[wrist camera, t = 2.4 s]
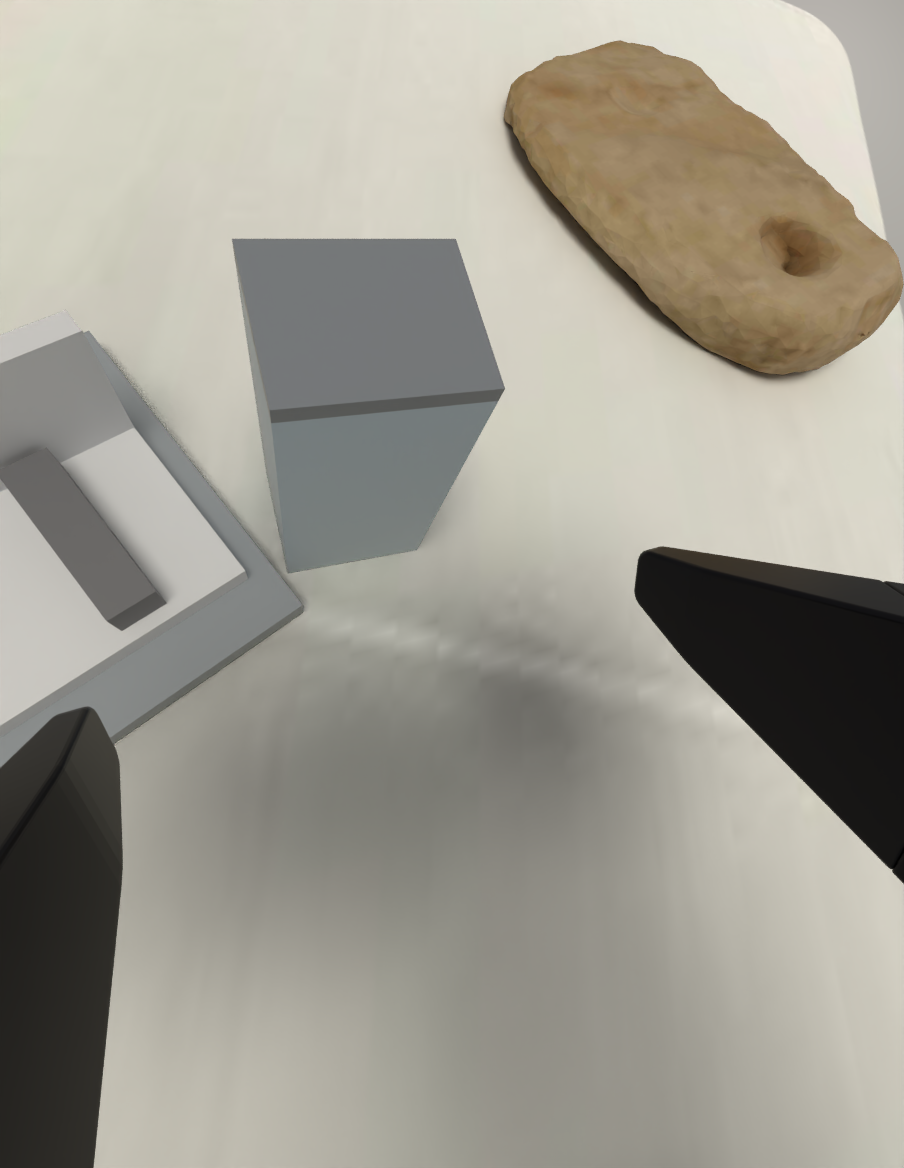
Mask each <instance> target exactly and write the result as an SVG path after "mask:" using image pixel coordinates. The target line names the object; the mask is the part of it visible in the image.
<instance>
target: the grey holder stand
mask: <svg viewBox="0 0 904 1168" xmlns="http://www.w3.org/2000/svg"><path fill="white" fill-rule="evenodd" d="M301 613H303V605H302V603H301V602H300V601H299V599H298V598H297V597H296V596H295V594H294V593H293V592H292V590H291V589H290V588H289V587H288V585H287V584H286V583H285V581H284V580H283V579H282V578H281V576H280V575H279V574H278V572H277V571H276V570H275V569H274V567H273V566H272V565H271V564H270V562H269V561H268V560H267V558H266V557H265V556H264V555H263V553H262V552H261V551H260V549H259V548H258V547H257V546H256V544H255V543H254V542H253V540H252V539H251V538H250V537H249V535H248V534H247V533H246V531H245V530H244V529H243V528H242V526H241V525H240V524H239V523H238V521H237V520H236V519H235V517H234V516H233V515H232V514H231V512H230V511H229V510H228V508H227V507H226V506H225V505H224V503H223V502H222V501H221V499H220V498H219V497H218V496H217V494H216V493H215V492H214V490H213V489H212V488H211V487H210V485H209V484H208V483H207V481H206V480H205V479H204V478H203V476H202V475H201V474H200V473H199V471H198V470H197V469H196V467H195V466H194V465H193V464H192V462H191V461H190V460H189V458H188V457H187V456H186V455H185V453H184V452H183V451H182V449H181V448H180V447H179V446H178V444H177V443H176V442H175V440H174V439H173V438H172V437H171V435H170V434H169V433H168V431H167V430H166V429H165V428H164V426H163V425H162V424H161V423H160V421H159V420H158V419H157V417H156V416H155V415H154V414H153V412H152V411H151V410H150V408H149V407H148V406H147V405H146V403H145V402H144V401H143V399H142V398H141V397H140V396H139V394H138V393H137V392H136V390H135V389H134V388H133V387H132V385H131V384H130V383H129V381H128V380H127V379H126V378H125V376H124V375H123V374H122V373H121V371H120V370H119V369H118V367H117V366H116V365H115V364H114V362H113V361H112V360H111V358H110V357H109V356H108V355H107V353H106V352H105V351H104V349H103V348H102V347H101V346H100V344H99V343H98V342H97V340H96V339H95V338H94V337H93V335H92V334H91V333H90V331H87V332H85V333H83V331H82V330H81V328H80V327H79V326H78V324H77V323H76V322H75V321H74V319H73V318H72V317H71V315H70V314H69V313H68V312H67V310H64V311H61V312H59V313H56V314H53V315H51V316H48V317H45V318H43V319H40V320H38V321H35V322H32V323H30V324H27V325H24V326H22V327H19V328H17V329H14V330H11V331H9V332H6V333H3V334H1V335H0V767H1V766H2V765H3V764H5V763H6V762H7V761H8V760H9V759H10V758H11V757H12V756H13V755H14V754H15V753H16V752H17V751H18V750H19V749H20V748H21V747H22V746H23V745H24V744H25V743H26V742H27V741H28V740H29V739H30V738H31V737H32V736H34V735H35V734H36V733H37V732H38V731H39V730H40V729H41V728H42V727H43V726H44V725H45V724H46V723H47V722H48V721H49V720H50V719H51V718H52V717H54V716H55V715H57V714H60V713H63V712H67V711H70V710H74V709H78V708H81V707H85V706H89V707H91V708H93V709H94V710H95V711H96V712H97V714H98V715H99V717H100V719H101V721H102V723H103V725H104V727H105V729H106V731H107V733H108V735H109V737H110V739H111V741H112V743H113V744H114V743H116V742H117V741H119V740H120V739H121V738H123V737H124V736H126V735H127V734H129V733H130V732H131V731H133V730H134V729H136V728H137V727H139V726H140V725H142V724H143V723H144V722H146V721H147V720H149V719H150V718H152V717H153V716H155V715H156V714H157V713H159V712H160V711H162V710H163V709H165V708H166V707H167V706H169V705H170V704H172V703H173V702H175V701H176V700H178V699H179V698H180V697H182V696H183V695H185V694H186V693H188V692H189V691H190V690H192V689H193V688H195V687H196V686H198V685H199V684H201V683H202V682H203V681H205V680H206V679H208V678H209V677H211V676H212V675H214V674H215V673H216V672H218V671H219V670H221V669H222V668H224V667H225V666H226V665H228V664H229V663H231V662H232V661H234V660H235V659H237V658H238V657H239V656H241V655H242V654H244V653H245V652H247V651H248V650H250V649H251V648H252V647H254V646H255V645H257V644H258V643H260V642H261V641H262V640H264V639H265V638H267V637H268V636H270V635H271V634H273V633H274V632H275V631H277V630H278V629H280V628H281V627H283V626H284V625H286V624H287V623H288V622H290V621H291V620H293V619H294V618H296V617H297V616H298V615H300V614H301Z"/></svg>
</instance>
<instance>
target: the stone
mask: <svg viewBox="0 0 904 1168" xmlns="http://www.w3.org/2000/svg"><path fill="white" fill-rule="evenodd" d="M504 118H505V121H506V122H507V123H508V124H510V125H511V126H512V127H513V133H514V134H515V135H516V136H517V138H518V140H519V142H520V145H521V147H522V148H523V149H524V150H525V151H526V154H527V157H528V160H529V162H530V163H531V166H532V167H533V168H534V169H535V170H536V172H537V173H538V175H539V176H540V178H541V179H542V181H543V182H544V184H545V185H546V186H547V187H548V189H549V190H550V191H551V192H552V193H553V194H554V195H555V197H556V198H557V199H558V200H559V201H560V202H561V203H562V204H563V205H564V206H565V208H566V209H567V210H568V211H569V212H570V214H571V215H572V216H573V217H574V218H575V220H576V221H577V222H578V223H579V224H580V225H581V226H582V227H583V228H584V229H585V230H586V232H587V233H588V234H589V235H590V236H591V237H592V239H593V240H594V241H595V242H596V243H597V244H598V245H599V246H600V247H601V248H602V249H603V250H604V251H605V252H606V253H607V254H608V255H609V256H610V257H611V259H612V260H613V261H614V262H615V263H616V264H617V265H618V266H620V267H621V268H622V269H623V270H624V271H625V272H626V273H627V274H628V275H629V276H630V277H631V278H632V279H633V280H634V281H636V282H637V284H638V285H639V286H640V288H641V289H642V290H643V292H644V293H645V294H646V296H647V297H648V298H649V300H650V301H652V302H653V303H654V304H656V305H657V306H658V307H659V308H660V310H661V311H662V313H664V314H665V315H666V316H667V317H669V318H670V319H671V320H672V321H674V322H675V323H676V324H677V325H678V326H679V327H680V328H681V329H682V330H683V331H684V332H685V333H686V334H687V335H689V336H690V337H691V338H692V339H694V340H695V341H696V342H697V343H699V344H700V345H701V346H703V347H704V348H706V349H708V350H709V351H711V352H714V353H716V354H719V355H721V356H723V357H725V358H728V359H730V360H732V361H734V362H736V363H739V364H741V365H744V366H746V367H749V368H751V369H753V370H756V371H759V372H764V373H769V374H781V375H784V374H788V373H792V372H804V371H808V370H815V369H819V368H820V367H822V366H823V365H826V364H828V363H830V362H831V361H833V360H835V359H836V358H838V357H839V356H841V355H843V354H844V353H845V352H847V351H849V350H851V349H852V348H854V347H855V346H857V345H859V344H860V343H861V342H862V341H864V340H865V339H867V338H868V337H870V336H871V335H872V334H873V333H874V332H875V331H876V330H877V329H878V328H879V327H880V325H881V324H882V323H883V322H884V321H885V319H886V318H887V317H888V315H889V314H890V312H891V311H892V310H893V308H894V307H895V306H896V304H897V303H898V301H899V300H900V297H901V293H902V288H903V277H902V272H901V268H900V264H899V260H898V257H897V255H896V253H895V252H894V250H893V249H892V247H891V246H890V245H889V243H888V242H887V241H885V240H883V239H881V238H880V237H879V236H877V235H876V234H875V233H874V232H873V231H871V230H870V229H869V228H868V227H867V226H866V225H864V224H863V223H862V222H861V221H860V220H858V218H857V217H856V215H855V212H854V207H853V205H852V204H851V203H850V202H849V200H848V199H846V198H845V197H844V196H842V195H841V194H840V193H838V192H837V191H836V190H835V189H834V188H833V187H832V186H831V184H830V183H829V182H828V181H827V180H826V179H825V178H824V177H823V176H821V175H819V174H818V173H817V171H816V170H815V169H813V168H812V167H810V166H809V165H807V164H806V163H805V162H804V160H803V159H802V158H801V157H800V156H799V155H798V154H797V153H796V152H795V151H794V150H793V149H792V148H791V147H790V146H789V144H788V143H787V141H786V140H784V139H783V138H782V137H781V136H780V135H779V134H778V133H777V132H776V131H775V130H774V129H773V128H772V127H771V126H770V124H769V123H768V122H767V121H765V120H763V119H761V118H759V117H758V116H756V115H755V114H753V113H751V112H748V111H746V110H745V109H743V108H742V107H741V106H739V105H737V104H735V103H734V102H732V101H731V100H730V99H729V98H728V97H727V96H726V95H725V94H723V93H722V92H721V91H720V90H719V89H718V87H717V86H716V84H715V83H714V82H713V81H712V80H711V79H710V78H709V77H708V76H707V75H706V74H705V73H704V71H703V70H702V69H701V68H700V67H699V66H697V65H696V64H694V63H693V62H691V61H689V60H686V59H683V58H679V57H676V56H670V55H666V54H663V53H662V52H660V51H659V50H657V49H656V48H654V47H651V46H645V45H640V44H635V43H627V42H623V41H614V42H610V43H607V44H604V45H601V46H598V47H595V48H593V49H589V50H586V51H583V52H580V53H576V54H573V55H567V56H556V57H555V58H553V59H552V60H550V61H545V62H543V63H542V64H541V65H539V66H538V67H536V68H535V69H534V70H532V71H529V72H526V73H524V74H523V75H521V76H520V77H518V78H517V79H516V80H515V81H514V83H513V84H512V85H511V87H510V91H509V94H508V98H507V105H506V110H505V113H504Z"/></svg>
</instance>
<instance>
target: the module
mask: <svg viewBox="0 0 904 1168" xmlns="http://www.w3.org/2000/svg"><path fill="white" fill-rule="evenodd" d="M232 242H233V249H234V256H235V263H236V269H237V276H238V283H239V290H240V297H241V303H242V310H243V317H244V324H245V331H246V337H247V344H248V351H249V358H250V365H251V371H252V378H253V385H254V392H255V399H256V405H257V412H258V419H259V426H260V433H261V439H262V446H263V453H264V460H265V467H266V473H267V478H268V483H269V488H270V492H271V497H272V502H273V506H274V511H275V516H276V521H277V525H278V530H279V535H280V539H281V544H282V549H283V554H284V558H285V563H286V568H287V572H288V573H292V572H298V571H303V570H309V569H314V568H320V567H326V566H331V565H337V564H342V563H348V562H353V561H359V560H364V559H370V558H375V557H381V556H386V555H392V554H397V553H403V552H408V551H414V550H417V549H418V547H419V545H420V543H421V541H422V540H423V538H424V536H425V534H426V532H427V530H428V529H429V527H430V525H431V523H432V521H433V519H434V518H435V516H436V514H437V512H438V510H439V508H440V507H441V505H442V503H443V501H444V499H445V497H446V496H447V494H448V492H449V490H450V488H451V487H452V485H453V483H454V481H455V479H456V477H457V476H458V474H459V472H460V470H461V468H462V466H463V465H464V463H465V461H466V459H467V457H468V455H469V454H470V452H471V450H472V448H473V446H474V444H475V443H476V441H477V439H478V437H479V435H480V433H481V432H482V430H483V428H484V426H485V424H486V423H487V421H488V419H489V417H490V415H491V413H492V412H493V410H494V408H495V406H496V404H497V402H498V401H499V399H500V397H501V395H502V393H503V391H504V390H505V387H504V384H503V381H502V378H501V375H500V372H499V369H498V366H497V363H496V360H495V357H494V354H493V351H492V348H491V345H490V342H489V339H488V336H487V333H486V329H485V326H484V323H483V320H482V317H481V314H480V311H479V308H478V305H477V302H476V299H475V296H474V293H473V290H472V287H471V284H470V281H469V278H468V275H467V272H466V269H465V266H464V263H463V260H462V257H461V254H460V250H459V247H458V244H457V241H456V239H232Z"/></svg>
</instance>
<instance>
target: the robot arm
mask: <svg viewBox="0 0 904 1168" xmlns="http://www.w3.org/2000/svg"><path fill="white" fill-rule="evenodd" d="M634 592H635V597H636V600H637V602H638V603H639V605H640V606H641V607H642V608H643V610H644V611H645V612H646V613H647V615H648V616H649V617H650V618H651V620H652V621H653V622H654V623H655V624H656V626H657V627H658V628H659V629H660V631H661V632H662V633H663V634H664V636H665V637H666V638H667V639H668V641H669V642H670V643H671V644H672V645H673V647H674V648H675V649H676V650H677V652H678V653H679V654H680V655H681V656H682V657H683V659H684V660H685V661H686V662H687V663H688V664H689V665H690V666H691V667H692V669H693V670H694V671H695V672H696V673H697V674H698V675H699V676H700V677H701V678H702V679H703V680H704V681H705V682H706V683H707V684H708V685H709V686H710V687H711V688H712V689H713V690H714V691H715V692H716V693H717V694H718V695H719V696H720V697H721V698H722V699H723V700H724V701H725V702H726V703H727V704H728V705H729V706H730V707H731V708H732V709H733V710H734V711H735V712H736V713H737V714H738V715H739V716H740V717H741V718H742V719H743V720H744V721H745V722H746V723H747V724H748V725H749V726H750V728H751V729H752V730H753V731H754V732H755V733H756V734H757V735H758V736H759V737H760V738H761V739H762V740H763V741H764V742H765V743H766V744H767V745H768V746H769V747H770V748H771V749H772V750H773V751H774V752H775V753H776V754H777V755H778V756H779V757H780V758H781V759H782V760H783V761H784V762H785V763H786V764H787V765H788V766H789V767H790V768H791V769H792V770H793V771H794V772H795V773H796V774H797V775H798V776H799V777H800V778H801V779H802V780H803V781H804V782H805V783H806V784H807V785H808V786H809V787H810V788H811V789H812V790H813V791H814V792H815V794H816V795H817V796H818V797H819V798H820V799H821V800H822V801H823V802H824V803H825V804H826V805H827V806H828V807H829V808H830V809H831V810H832V811H833V812H834V813H835V814H836V815H837V816H838V817H839V818H840V819H841V820H842V821H843V822H844V823H845V824H846V825H847V826H848V827H849V828H850V829H851V830H852V831H853V832H854V833H855V834H856V835H857V836H858V837H859V838H860V839H861V840H862V841H863V842H864V843H865V844H866V845H867V846H868V847H869V848H870V849H871V850H872V851H873V852H874V853H875V854H876V855H877V856H878V857H879V858H880V859H881V861H882V862H883V863H884V864H885V865H886V866H887V867H888V868H890V869H893V870H892V872H893V873H894V874H895V875H896V876H897V877H898V878H899V879H900V880H901V882H902V883H903V884H904V584H901V583H895V582H888V581H885V582H882V581H880V580H875V579H869V578H862V577H856V576H850V575H843V574H837V573H830V572H824V571H818V570H811V569H805V568H798V567H792V566H786V565H779V564H773V563H766V562H760V561H754V560H747V559H741V558H734V557H728V556H722V555H715V554H709V553H702V552H696V551H690V550H683V549H677V548H670V547H663V546H662V547H656V548H653V549H649V550H646V551H644V552H642V553H641V554H640V556H639V559H638V565H637V573H636V581H635V590H634ZM122 870H123V850H122V821H121V792H120V766H119V759H118V755H117V752H116V749H115V747H114V745H113V743H112V741H111V739H110V737H109V735H108V733H107V731H106V729H105V727H104V725H103V723H102V721H101V719H100V717H99V715H98V714H97V712H96V711H95V710H94V709H93V708H91V707H89V706H85V707H81V708H78V709H74V710H70V711H67V712H63V713H60V714H57V715H55V716H54V717H52V718H51V719H50V720H49V721H48V722H47V723H46V724H45V725H44V726H43V727H42V728H41V729H40V730H39V731H38V732H37V733H36V734H35V735H34V736H32V737H31V738H30V739H29V740H28V741H27V742H26V743H25V744H24V745H23V746H22V747H21V748H20V749H19V750H18V751H17V752H16V753H15V754H14V755H13V756H12V757H11V758H10V759H9V760H8V761H7V762H6V763H5V764H3V765H2V766H1V767H0V1168H94V1158H95V1148H96V1137H97V1127H98V1117H99V1107H100V1097H101V1087H102V1077H103V1067H104V1057H105V1047H106V1037H107V1027H108V1017H109V1007H110V996H111V986H112V976H113V966H114V956H115V946H116V936H117V926H118V916H119V906H120V896H121V885H122Z"/></svg>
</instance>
